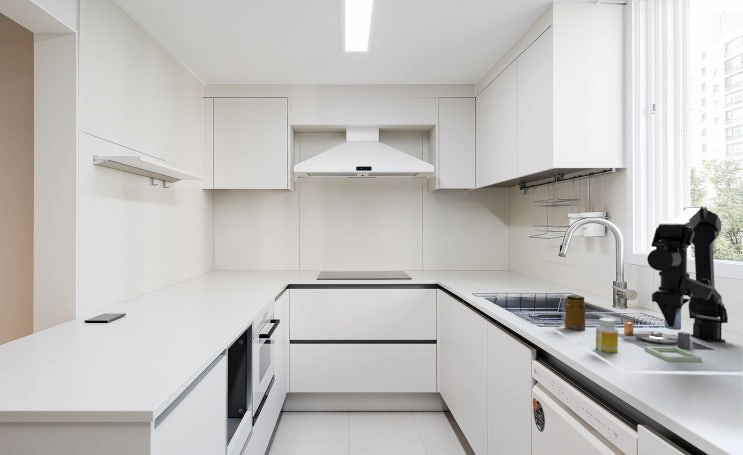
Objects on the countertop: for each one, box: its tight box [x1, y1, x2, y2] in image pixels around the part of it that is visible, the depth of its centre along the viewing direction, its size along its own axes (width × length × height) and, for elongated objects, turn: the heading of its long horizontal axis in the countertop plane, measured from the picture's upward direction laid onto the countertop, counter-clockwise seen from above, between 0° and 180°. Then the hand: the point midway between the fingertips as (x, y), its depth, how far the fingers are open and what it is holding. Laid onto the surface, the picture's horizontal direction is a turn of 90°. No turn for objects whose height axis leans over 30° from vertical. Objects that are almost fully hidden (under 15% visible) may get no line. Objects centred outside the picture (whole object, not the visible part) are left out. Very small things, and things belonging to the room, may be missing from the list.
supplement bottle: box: [595, 317, 619, 354], centre depth 116 cm, size 5×5×10 cm
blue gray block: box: [664, 308, 682, 331], centre depth 112 cm, size 4×4×6 cm
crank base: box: [618, 331, 715, 351], centre depth 126 cm, size 20×16×5 cm
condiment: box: [564, 294, 586, 332], centre depth 139 cm, size 7×8×12 cm
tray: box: [644, 347, 703, 363], centre depth 112 cm, size 9×9×2 cm
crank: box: [623, 321, 678, 344], centre depth 128 cm, size 15×11×5 cm
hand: (672, 325), depth 112 cm, fingers closed on blue gray block, 4 cm apart
